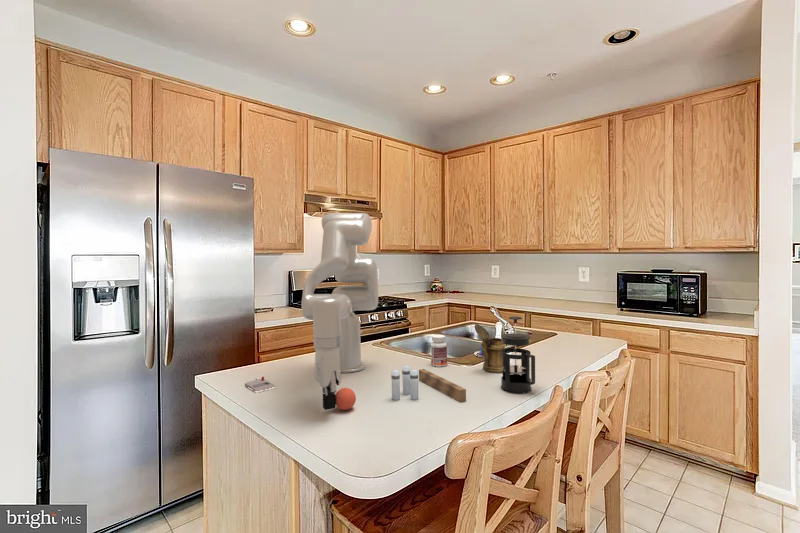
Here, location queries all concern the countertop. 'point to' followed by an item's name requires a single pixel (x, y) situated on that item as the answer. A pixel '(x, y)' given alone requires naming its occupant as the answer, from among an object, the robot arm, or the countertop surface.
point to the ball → (345, 398)
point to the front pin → (395, 384)
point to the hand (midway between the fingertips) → (329, 407)
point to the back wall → (443, 385)
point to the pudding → (479, 351)
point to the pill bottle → (438, 351)
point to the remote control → (259, 384)
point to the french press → (513, 375)
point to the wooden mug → (491, 351)
